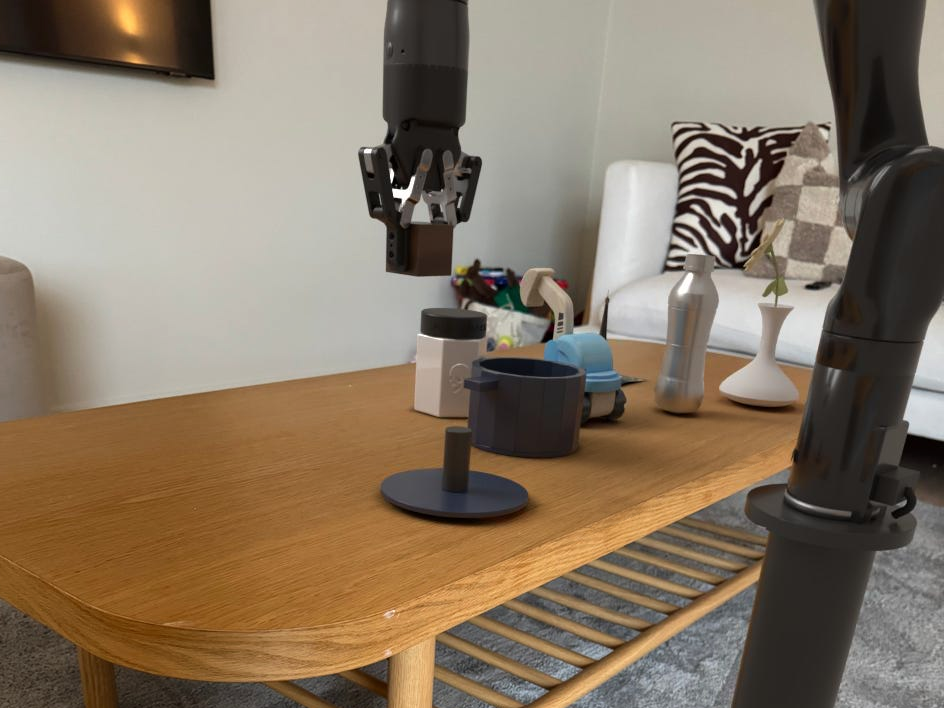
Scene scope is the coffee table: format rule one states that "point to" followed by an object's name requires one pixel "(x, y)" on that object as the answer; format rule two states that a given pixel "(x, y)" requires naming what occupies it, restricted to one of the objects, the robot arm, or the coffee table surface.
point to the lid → (454, 485)
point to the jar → (447, 359)
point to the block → (429, 249)
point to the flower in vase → (765, 346)
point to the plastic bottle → (687, 337)
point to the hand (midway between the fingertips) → (419, 269)
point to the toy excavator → (576, 347)
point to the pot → (525, 406)
